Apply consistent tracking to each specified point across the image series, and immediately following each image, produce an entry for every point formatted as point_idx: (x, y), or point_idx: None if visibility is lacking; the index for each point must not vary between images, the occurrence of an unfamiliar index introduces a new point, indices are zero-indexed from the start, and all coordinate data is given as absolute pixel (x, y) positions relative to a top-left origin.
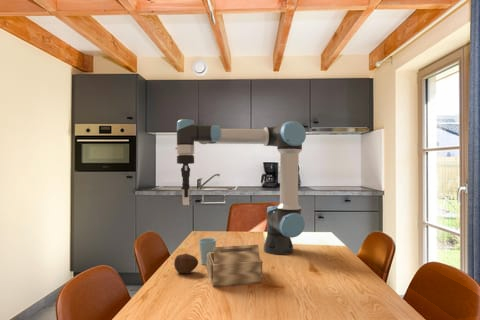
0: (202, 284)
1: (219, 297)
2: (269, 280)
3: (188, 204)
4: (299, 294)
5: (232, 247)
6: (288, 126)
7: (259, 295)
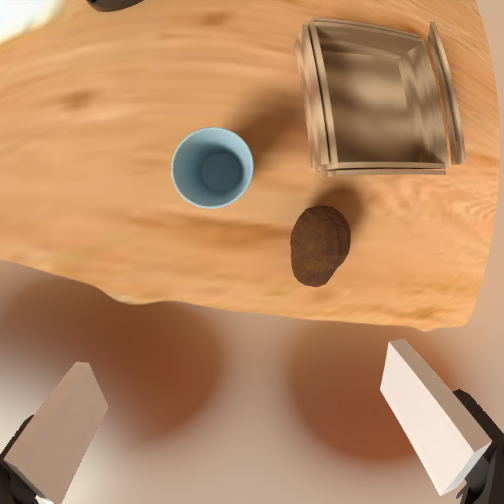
0: (399, 193)
1: None
2: None
3: (404, 347)
4: (439, 26)
5: (455, 99)
6: None
7: None
